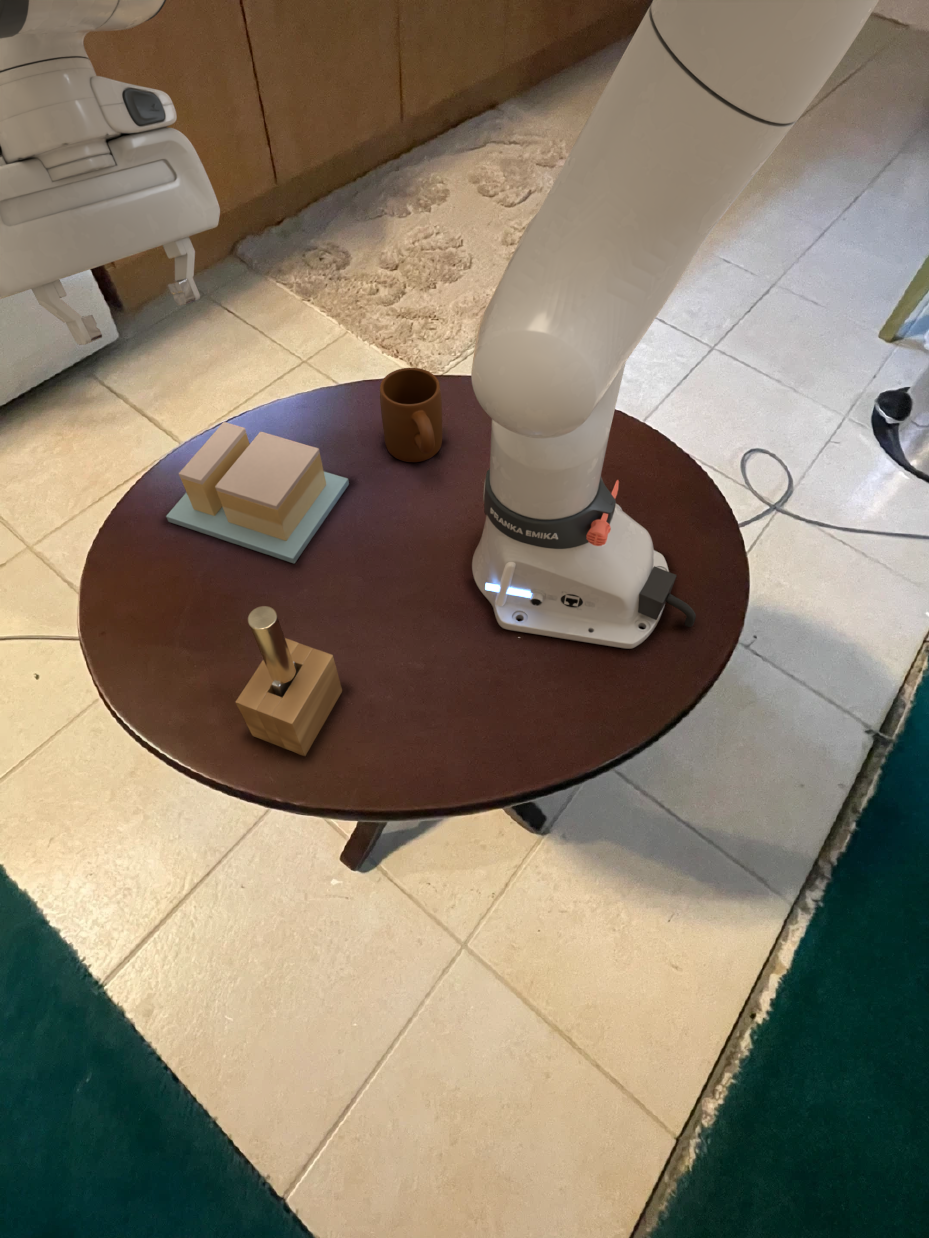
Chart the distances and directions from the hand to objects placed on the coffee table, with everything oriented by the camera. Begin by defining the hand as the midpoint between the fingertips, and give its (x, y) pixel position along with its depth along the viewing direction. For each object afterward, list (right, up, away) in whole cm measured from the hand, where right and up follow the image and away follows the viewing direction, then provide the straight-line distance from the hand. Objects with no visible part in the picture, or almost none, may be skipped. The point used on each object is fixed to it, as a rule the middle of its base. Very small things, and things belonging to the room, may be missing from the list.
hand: (142, 321), depth 62 cm
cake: (+2, -10, +32) cm, 34 cm away
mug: (+20, -3, +38) cm, 43 cm away
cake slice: (-3, -8, +33) cm, 34 cm away
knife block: (+9, -34, +16) cm, 38 cm away
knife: (+9, -34, +16) cm, 38 cm away
